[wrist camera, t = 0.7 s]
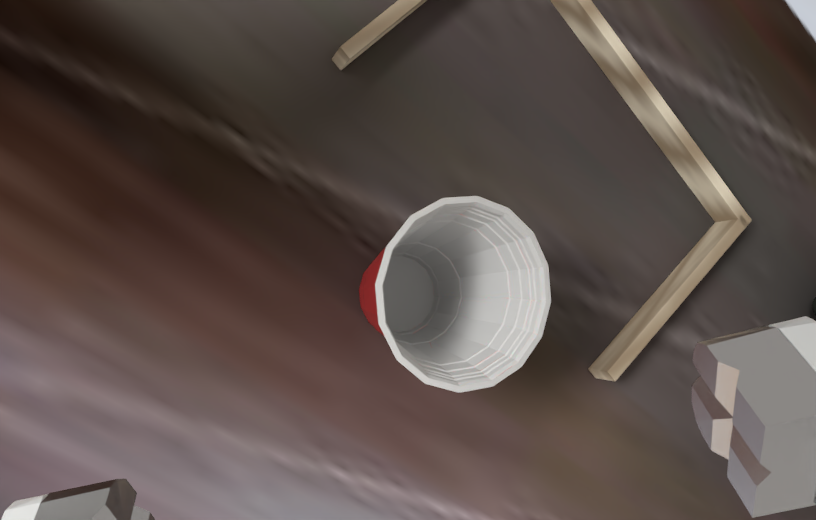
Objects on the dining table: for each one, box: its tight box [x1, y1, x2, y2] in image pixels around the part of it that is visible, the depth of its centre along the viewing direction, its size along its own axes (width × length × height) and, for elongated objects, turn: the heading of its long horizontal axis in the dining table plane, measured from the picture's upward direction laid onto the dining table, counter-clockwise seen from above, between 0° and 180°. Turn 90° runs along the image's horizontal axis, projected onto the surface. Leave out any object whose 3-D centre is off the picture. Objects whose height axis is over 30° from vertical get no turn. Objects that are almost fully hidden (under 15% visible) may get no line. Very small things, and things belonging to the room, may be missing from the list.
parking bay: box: [331, 0, 752, 381], centre depth 53 cm, size 31×18×2 cm, turn 43°
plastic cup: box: [359, 196, 551, 393], centre depth 44 cm, size 11×11×12 cm
